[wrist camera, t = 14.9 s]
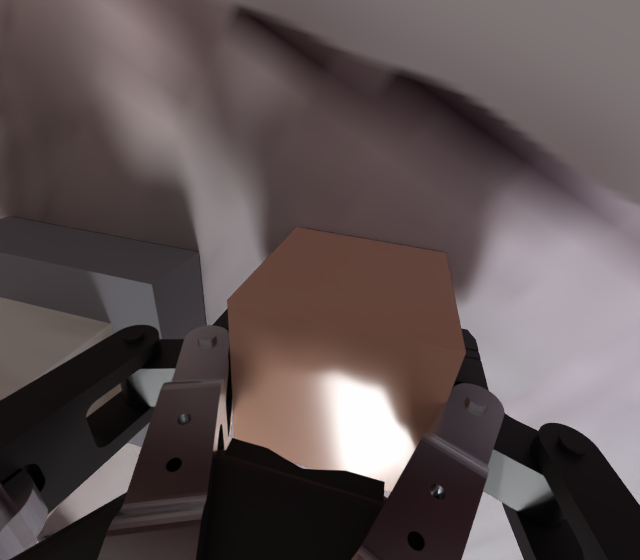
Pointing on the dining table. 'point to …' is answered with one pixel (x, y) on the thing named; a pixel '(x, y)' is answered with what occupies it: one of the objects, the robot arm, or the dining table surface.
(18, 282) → the plinth
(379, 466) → the terracotta cube
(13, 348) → the cream cube
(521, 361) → the dining table surface
